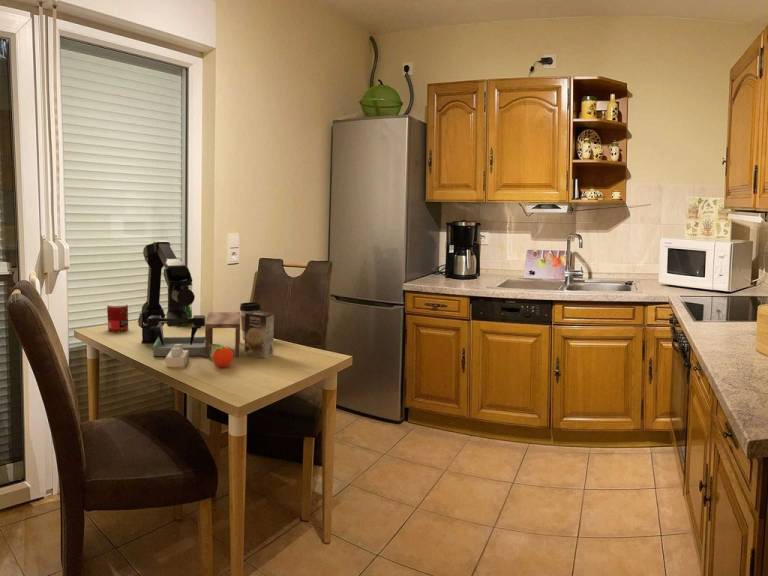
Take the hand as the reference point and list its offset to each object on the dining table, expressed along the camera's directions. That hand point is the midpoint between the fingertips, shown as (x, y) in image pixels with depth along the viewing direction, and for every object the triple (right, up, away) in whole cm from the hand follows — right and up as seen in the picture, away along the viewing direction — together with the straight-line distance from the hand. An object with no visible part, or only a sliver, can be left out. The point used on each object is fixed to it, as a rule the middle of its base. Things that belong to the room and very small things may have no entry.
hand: (177, 345), depth 200 cm
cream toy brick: (0, -7, +1) cm, 7 cm away
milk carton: (-19, +3, +58) cm, 61 cm away
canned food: (-40, +2, +43) cm, 59 cm away
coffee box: (+25, -5, +15) cm, 30 cm away
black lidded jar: (+16, -1, +38) cm, 42 cm away
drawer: (-4, -3, +16) cm, 17 cm away
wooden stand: (+11, -4, +20) cm, 23 cm away
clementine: (+16, -8, -1) cm, 17 cm away
